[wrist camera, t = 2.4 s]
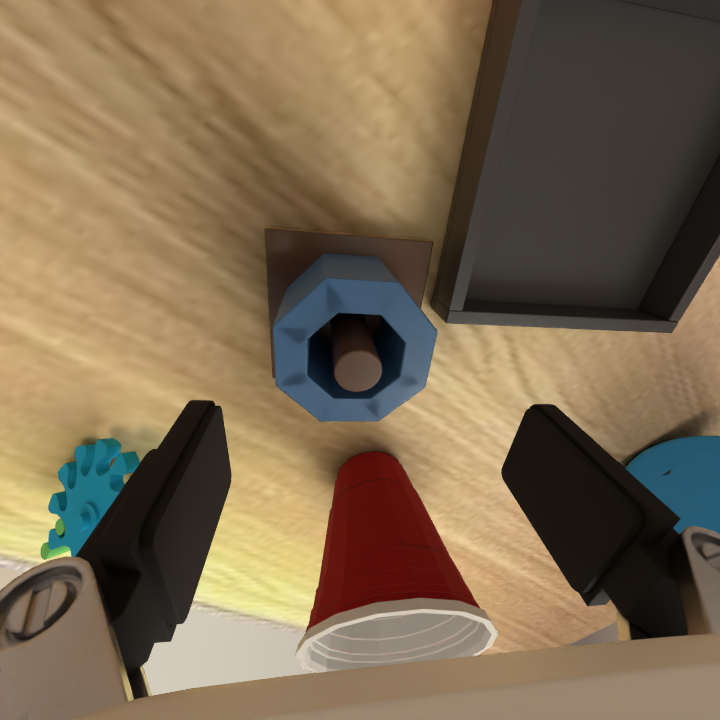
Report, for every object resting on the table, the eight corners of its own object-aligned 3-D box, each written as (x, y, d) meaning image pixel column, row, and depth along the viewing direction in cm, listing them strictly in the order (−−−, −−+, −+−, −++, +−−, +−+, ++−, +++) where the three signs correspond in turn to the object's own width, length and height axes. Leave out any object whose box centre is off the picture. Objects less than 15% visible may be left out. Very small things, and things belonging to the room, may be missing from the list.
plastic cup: (283, 499, 27) (260, 695, 16) (345, 409, 23) (365, 593, 12) (386, 527, 30) (420, 703, 20) (454, 454, 26) (541, 626, 16)
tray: (501, -44, 13) (545, -101, 10) (791, 21, 15) (884, -13, 12) (430, 307, 20) (445, 323, 17) (633, 317, 22) (672, 333, 19)
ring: (284, 250, 16) (269, 274, 11) (413, 259, 17) (449, 285, 12) (288, 365, 19) (277, 422, 15) (395, 367, 20) (418, 421, 16)
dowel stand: (267, 226, 16) (231, 248, 10) (428, 239, 18) (492, 267, 11) (274, 370, 21) (252, 455, 14) (404, 373, 22) (440, 451, 15)
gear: (113, 416, 19) (143, 592, 16) (197, 412, 24) (230, 543, 22) (21, 477, 22) (34, 632, 20) (113, 461, 28) (133, 581, 25)
